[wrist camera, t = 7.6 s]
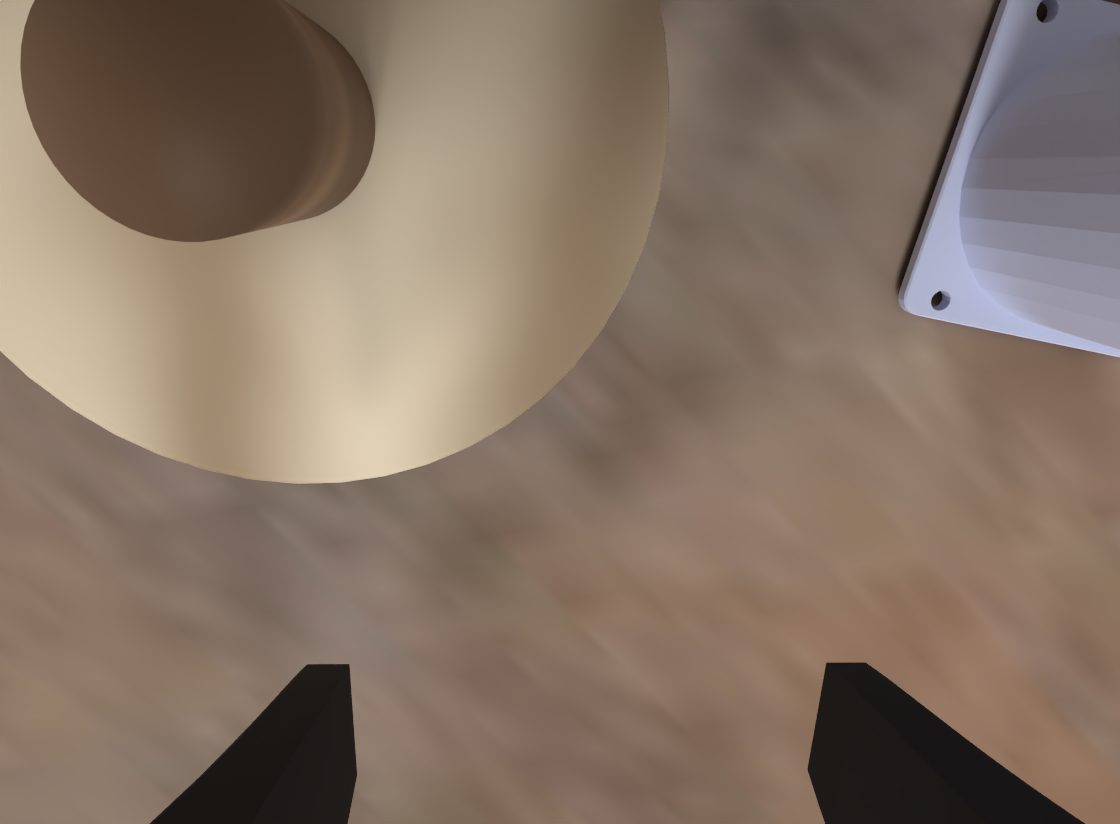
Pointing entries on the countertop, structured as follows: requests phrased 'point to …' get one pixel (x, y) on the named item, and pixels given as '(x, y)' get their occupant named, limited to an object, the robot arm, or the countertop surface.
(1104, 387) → the countertop surface
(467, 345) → the lid
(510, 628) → the countertop surface
